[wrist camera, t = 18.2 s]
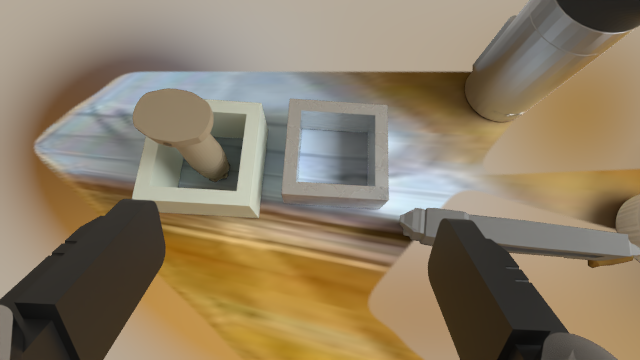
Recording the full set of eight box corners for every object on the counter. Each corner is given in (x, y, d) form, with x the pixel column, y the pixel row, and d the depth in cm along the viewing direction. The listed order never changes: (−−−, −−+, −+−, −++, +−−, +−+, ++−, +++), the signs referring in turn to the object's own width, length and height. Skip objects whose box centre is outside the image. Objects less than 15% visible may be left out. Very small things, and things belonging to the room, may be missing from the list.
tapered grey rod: (410, 230, 49) (399, 204, 36) (616, 249, 40) (702, 224, 27) (409, 251, 48) (397, 232, 35) (619, 276, 39) (710, 263, 26)
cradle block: (178, 124, 43) (155, 96, 37) (268, 130, 44) (261, 103, 37) (160, 212, 40) (131, 199, 33) (258, 218, 40) (249, 206, 33)
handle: (238, 192, 41) (201, 146, 27) (188, 184, 41) (125, 133, 27) (246, 157, 42) (216, 95, 28) (198, 149, 42) (143, 84, 28)
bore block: (291, 118, 44) (289, 98, 40) (378, 123, 45) (387, 105, 40) (284, 203, 41) (281, 193, 36) (378, 209, 41) (388, 200, 36)
